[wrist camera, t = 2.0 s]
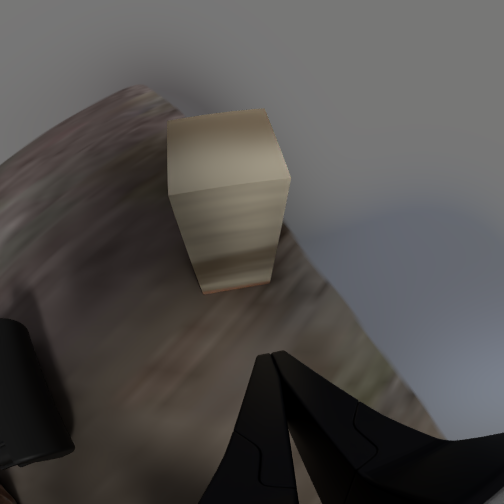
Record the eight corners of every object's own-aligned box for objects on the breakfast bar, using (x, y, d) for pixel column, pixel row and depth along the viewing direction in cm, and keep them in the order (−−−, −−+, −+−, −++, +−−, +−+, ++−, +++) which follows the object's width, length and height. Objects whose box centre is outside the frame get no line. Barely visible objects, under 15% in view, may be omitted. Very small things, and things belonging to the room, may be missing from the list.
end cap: (94, 444, 16) (42, 454, 10) (38, 467, 14) (-14, 475, 8) (45, 332, 20) (-6, 307, 14) (-2, 364, 18) (-53, 346, 12)
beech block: (269, 283, 22) (290, 177, 12) (203, 294, 22) (168, 195, 11) (256, 226, 25) (264, 108, 14) (195, 236, 24) (167, 121, 14)
